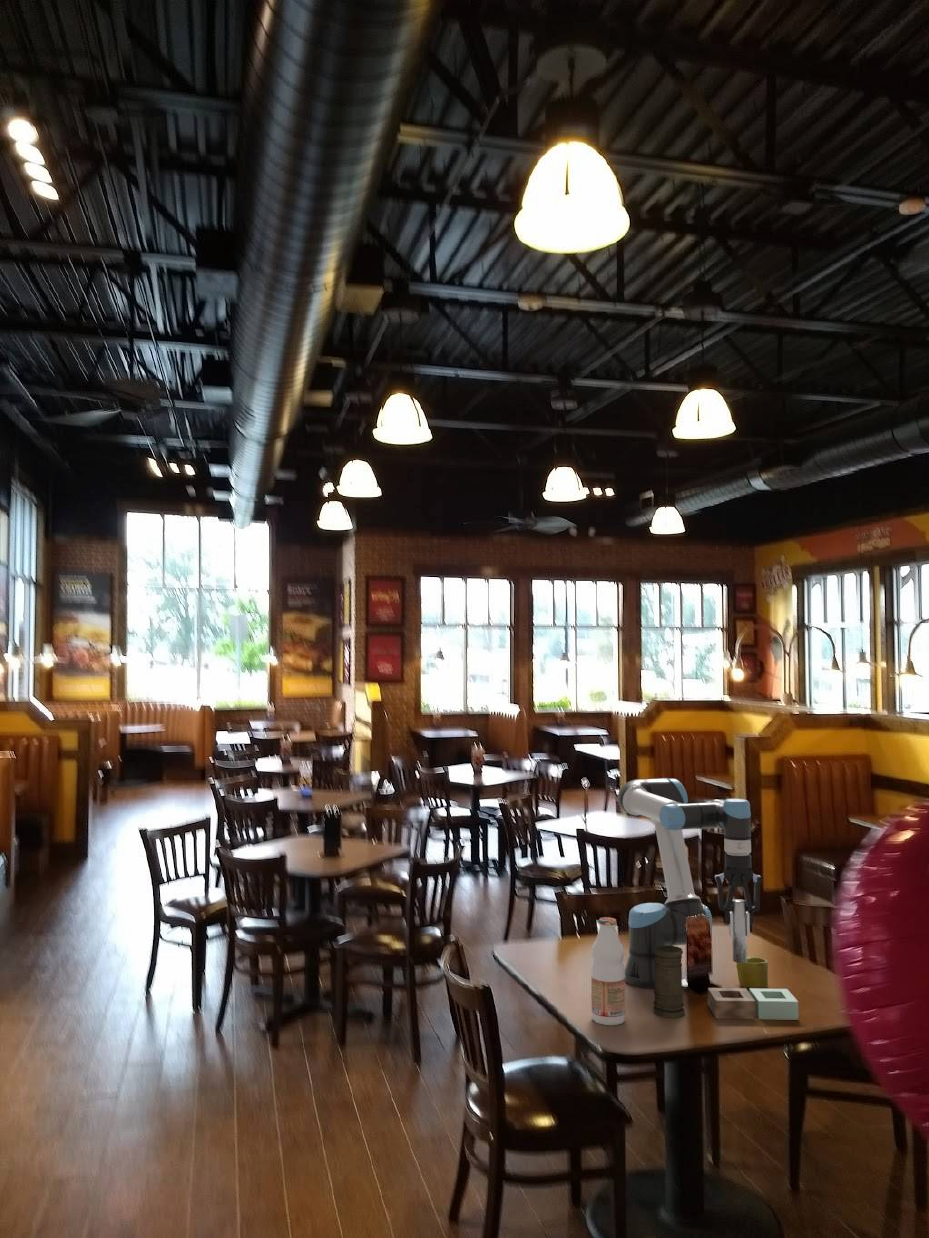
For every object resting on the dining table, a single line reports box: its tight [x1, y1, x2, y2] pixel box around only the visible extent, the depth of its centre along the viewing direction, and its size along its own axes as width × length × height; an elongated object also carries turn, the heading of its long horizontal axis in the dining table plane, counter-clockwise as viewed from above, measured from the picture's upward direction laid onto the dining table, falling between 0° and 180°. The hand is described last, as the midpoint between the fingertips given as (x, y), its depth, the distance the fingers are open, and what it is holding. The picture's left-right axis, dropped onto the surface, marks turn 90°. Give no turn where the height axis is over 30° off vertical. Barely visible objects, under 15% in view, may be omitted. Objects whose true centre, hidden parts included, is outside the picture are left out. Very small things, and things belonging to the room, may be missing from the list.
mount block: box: [707, 987, 756, 1020], centre depth 282 cm, size 11×11×5 cm
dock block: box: [748, 988, 800, 1021], centre depth 281 cm, size 11×11×5 cm
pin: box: [731, 899, 748, 963], centre depth 282 cm, size 4×4×17 cm
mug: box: [736, 956, 769, 990], centre depth 306 cm, size 12×10×10 cm
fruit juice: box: [590, 916, 626, 1026], centre depth 276 cm, size 9×9×28 cm
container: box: [652, 945, 685, 1019], centre depth 282 cm, size 9×9×18 cm
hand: (739, 935), depth 282 cm, fingers closed on pin, 4 cm apart
